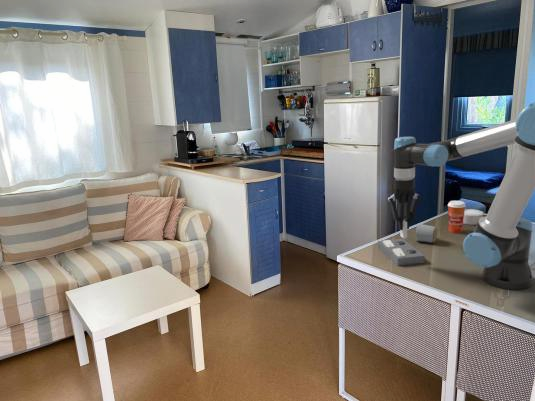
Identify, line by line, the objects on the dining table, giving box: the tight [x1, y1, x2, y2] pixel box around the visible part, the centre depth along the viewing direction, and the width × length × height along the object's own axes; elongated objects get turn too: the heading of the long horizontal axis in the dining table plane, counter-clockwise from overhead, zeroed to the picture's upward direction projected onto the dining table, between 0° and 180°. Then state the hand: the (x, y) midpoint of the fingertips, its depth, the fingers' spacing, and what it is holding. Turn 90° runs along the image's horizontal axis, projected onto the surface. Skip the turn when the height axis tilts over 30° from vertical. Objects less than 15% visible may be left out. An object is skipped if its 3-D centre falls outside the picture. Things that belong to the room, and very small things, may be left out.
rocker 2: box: [392, 248, 405, 256], centre depth 166 cm, size 5×3×1 cm, turn 8°
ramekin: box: [463, 208, 485, 226], centre depth 204 cm, size 11×11×5 cm
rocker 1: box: [382, 239, 395, 247], centre depth 176 cm, size 5×3×1 cm, turn 8°
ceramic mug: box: [415, 223, 438, 244], centre depth 185 cm, size 11×8×8 cm
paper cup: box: [447, 200, 467, 234], centre depth 192 cm, size 8×8×14 cm
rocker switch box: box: [377, 238, 426, 267], centre depth 171 cm, size 20×11×3 cm, turn 7°
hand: (403, 237), depth 162 cm, fingers closed
